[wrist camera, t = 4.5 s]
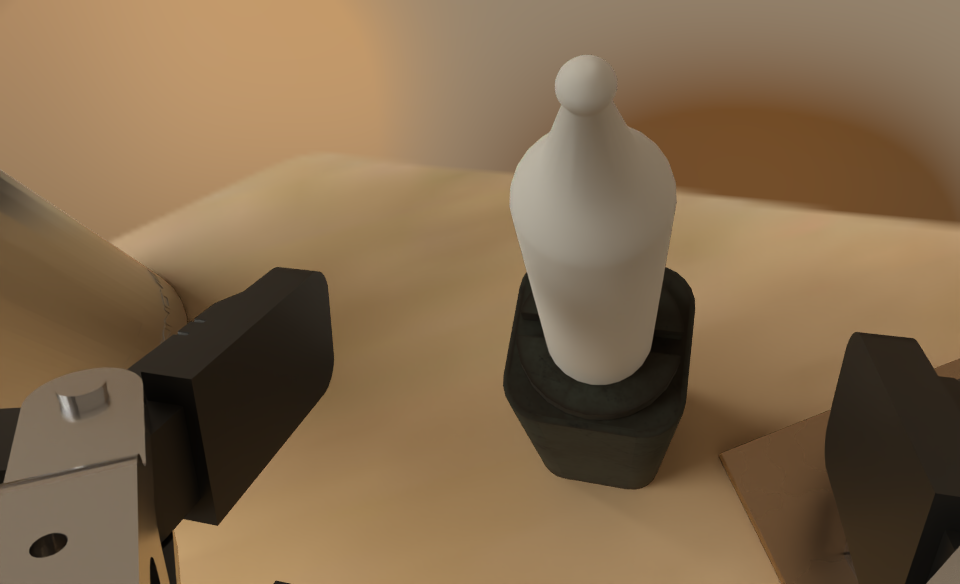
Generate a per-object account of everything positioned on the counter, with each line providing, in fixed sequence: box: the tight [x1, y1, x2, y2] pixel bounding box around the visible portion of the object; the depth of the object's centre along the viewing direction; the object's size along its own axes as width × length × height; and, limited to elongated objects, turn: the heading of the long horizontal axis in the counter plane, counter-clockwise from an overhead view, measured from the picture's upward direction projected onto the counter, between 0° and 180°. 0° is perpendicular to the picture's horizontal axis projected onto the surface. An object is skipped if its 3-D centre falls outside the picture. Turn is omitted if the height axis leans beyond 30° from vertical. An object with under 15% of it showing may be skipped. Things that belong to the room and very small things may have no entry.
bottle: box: [503, 55, 695, 489], centre depth 21 cm, size 5×5×25 cm
